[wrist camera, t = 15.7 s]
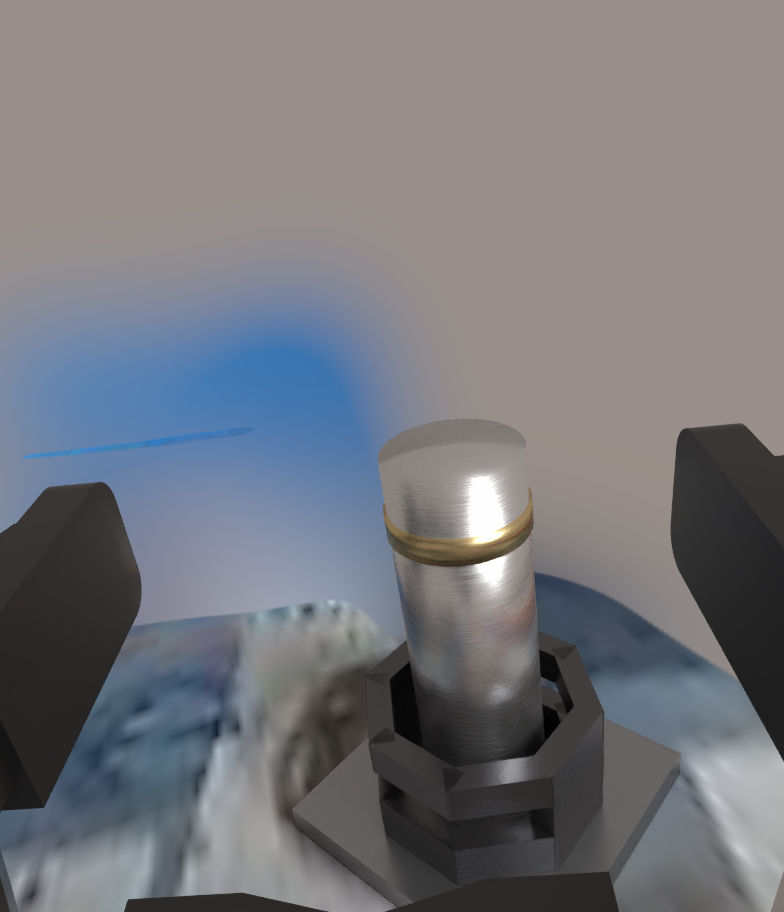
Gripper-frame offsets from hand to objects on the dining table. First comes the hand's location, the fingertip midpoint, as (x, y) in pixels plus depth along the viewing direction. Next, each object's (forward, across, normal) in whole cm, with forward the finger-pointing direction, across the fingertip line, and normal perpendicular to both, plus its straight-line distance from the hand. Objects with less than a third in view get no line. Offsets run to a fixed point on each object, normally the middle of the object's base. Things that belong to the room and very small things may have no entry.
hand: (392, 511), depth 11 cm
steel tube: (+13, -2, +22) cm, 26 cm away
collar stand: (+13, -2, +23) cm, 27 cm away
